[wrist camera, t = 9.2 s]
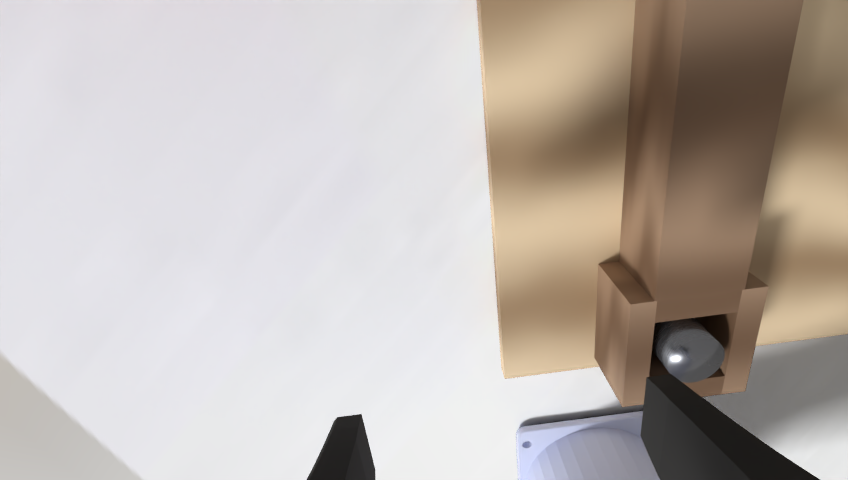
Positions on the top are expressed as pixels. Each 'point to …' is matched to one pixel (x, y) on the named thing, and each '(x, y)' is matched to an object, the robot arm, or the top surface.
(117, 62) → the top surface
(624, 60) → the board
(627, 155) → the link
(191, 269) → the top surface
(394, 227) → the top surface
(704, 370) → the post
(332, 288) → the top surface
